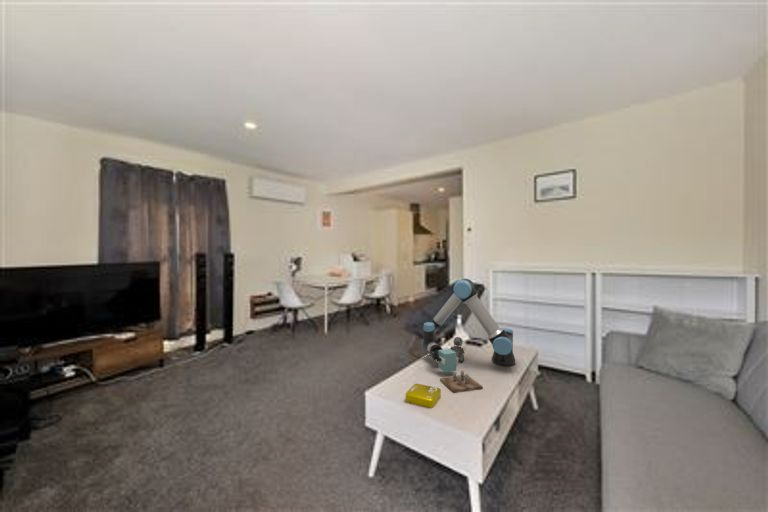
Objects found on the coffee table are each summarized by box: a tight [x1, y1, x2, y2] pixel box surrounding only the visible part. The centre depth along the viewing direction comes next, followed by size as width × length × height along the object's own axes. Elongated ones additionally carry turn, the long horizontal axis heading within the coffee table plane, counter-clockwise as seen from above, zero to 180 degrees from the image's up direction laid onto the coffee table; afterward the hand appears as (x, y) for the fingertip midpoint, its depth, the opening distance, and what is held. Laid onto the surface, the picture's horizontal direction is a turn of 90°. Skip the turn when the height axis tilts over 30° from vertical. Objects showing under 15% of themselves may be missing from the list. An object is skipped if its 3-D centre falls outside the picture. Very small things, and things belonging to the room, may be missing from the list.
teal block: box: [438, 348, 457, 373], centre depth 196 cm, size 8×8×11 cm
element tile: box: [405, 383, 442, 409], centre depth 164 cm, size 15×15×5 cm
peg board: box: [439, 370, 483, 394], centre depth 180 cm, size 18×16×6 cm
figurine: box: [449, 336, 465, 364], centre depth 220 cm, size 9×12×15 cm
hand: (450, 361), depth 191 cm, fingers closed on teal block, 8 cm apart
